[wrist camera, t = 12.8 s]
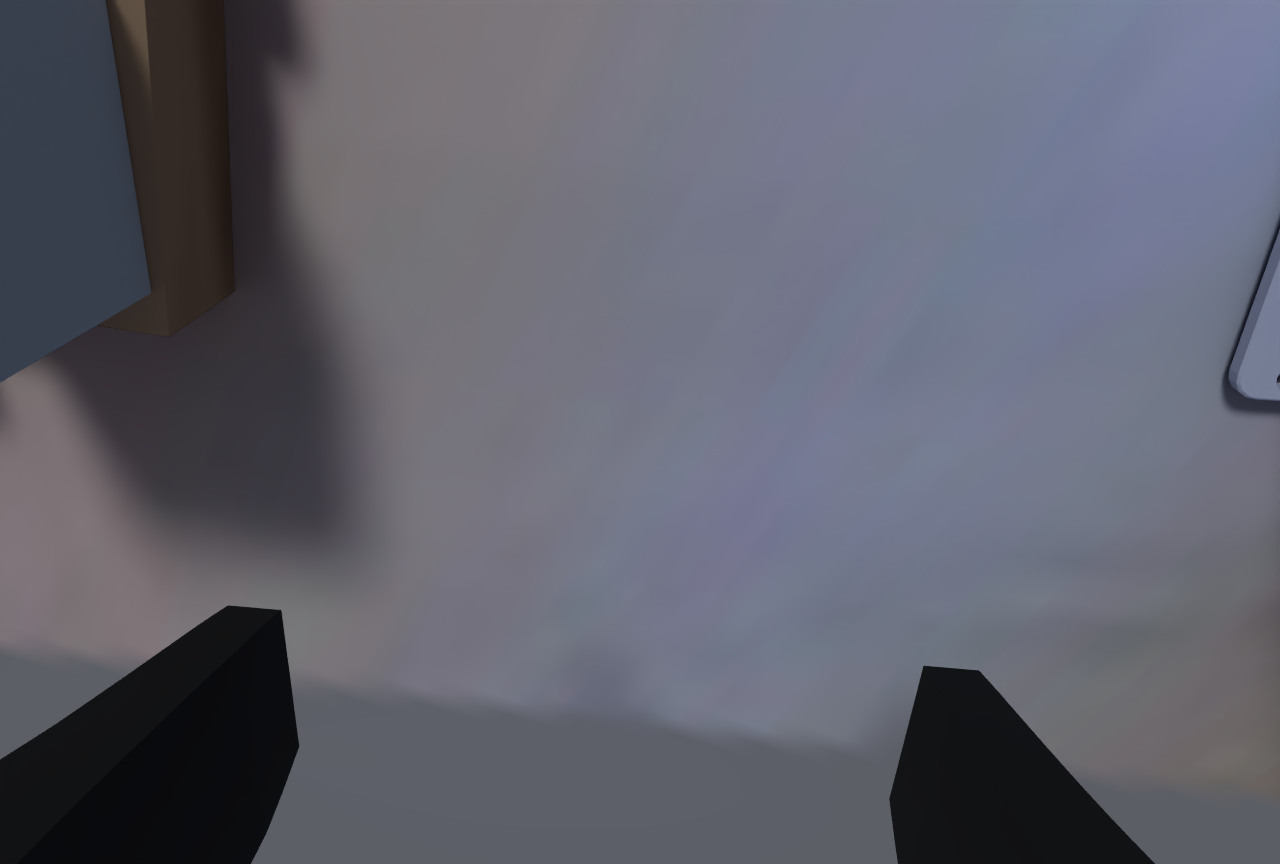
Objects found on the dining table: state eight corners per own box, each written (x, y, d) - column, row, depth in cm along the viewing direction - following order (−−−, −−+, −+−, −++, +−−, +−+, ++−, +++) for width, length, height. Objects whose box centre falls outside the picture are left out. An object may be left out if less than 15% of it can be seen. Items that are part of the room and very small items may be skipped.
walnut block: (230, -34, 17) (141, -35, 14) (241, 286, 19) (168, 337, 16) (-110, -94, 16) (-266, -107, 14) (-51, 238, 19) (-172, 281, 16)
